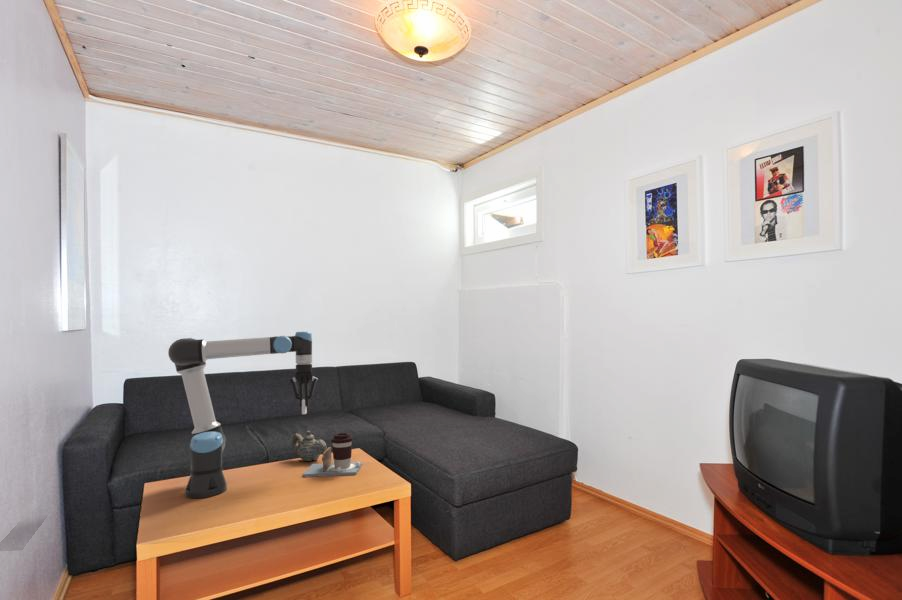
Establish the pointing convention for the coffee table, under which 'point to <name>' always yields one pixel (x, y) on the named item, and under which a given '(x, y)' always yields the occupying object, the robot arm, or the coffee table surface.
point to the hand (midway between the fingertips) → (304, 413)
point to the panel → (326, 458)
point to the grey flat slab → (332, 470)
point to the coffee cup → (342, 450)
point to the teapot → (308, 446)
